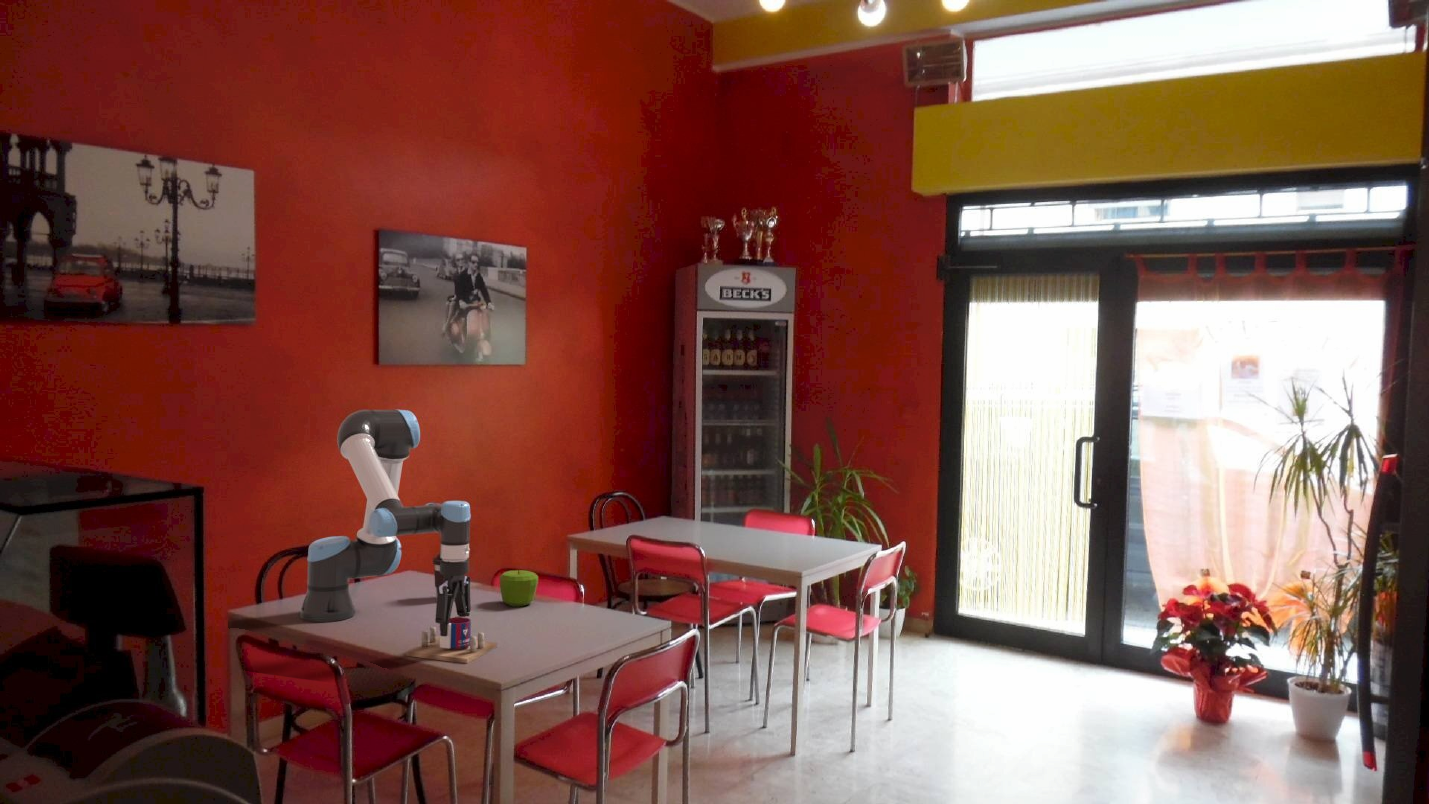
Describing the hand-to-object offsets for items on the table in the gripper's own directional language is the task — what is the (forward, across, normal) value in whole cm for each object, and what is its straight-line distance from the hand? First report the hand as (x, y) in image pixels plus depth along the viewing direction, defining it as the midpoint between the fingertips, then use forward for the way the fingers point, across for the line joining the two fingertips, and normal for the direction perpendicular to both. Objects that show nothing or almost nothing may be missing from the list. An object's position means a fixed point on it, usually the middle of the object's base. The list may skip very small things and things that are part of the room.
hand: (452, 643), depth 263 cm
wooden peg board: (+2, 0, 0) cm, 2 cm away
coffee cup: (+2, +51, +32) cm, 60 cm away
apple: (+2, +54, +8) cm, 55 cm away
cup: (+1, +1, 0) cm, 1 cm away
